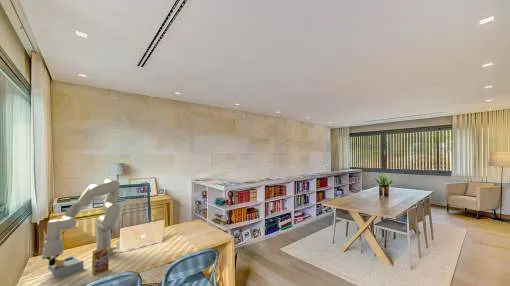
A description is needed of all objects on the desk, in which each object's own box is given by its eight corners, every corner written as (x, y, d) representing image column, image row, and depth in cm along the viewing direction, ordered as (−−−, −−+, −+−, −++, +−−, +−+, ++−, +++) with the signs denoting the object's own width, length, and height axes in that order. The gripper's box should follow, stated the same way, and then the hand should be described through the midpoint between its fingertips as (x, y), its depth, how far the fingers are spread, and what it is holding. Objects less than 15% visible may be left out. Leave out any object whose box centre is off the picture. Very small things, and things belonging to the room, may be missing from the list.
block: (61, 264, 158) (63, 258, 159) (62, 266, 155) (64, 259, 156) (53, 265, 155) (55, 258, 156) (55, 266, 152) (57, 260, 153)
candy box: (93, 275, 150) (94, 252, 150) (91, 273, 152) (92, 250, 153) (108, 270, 156) (109, 248, 157) (106, 268, 159) (107, 246, 159)
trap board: (72, 259, 170) (72, 252, 170) (83, 268, 158) (83, 260, 158) (48, 267, 159) (48, 259, 159) (57, 278, 146) (57, 269, 147)
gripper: (40, 242, 145) (38, 271, 145) (69, 236, 158) (67, 262, 157) (37, 239, 150) (35, 267, 149) (65, 233, 162) (64, 259, 161)
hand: (51, 265), depth 153 cm, fingers closed
